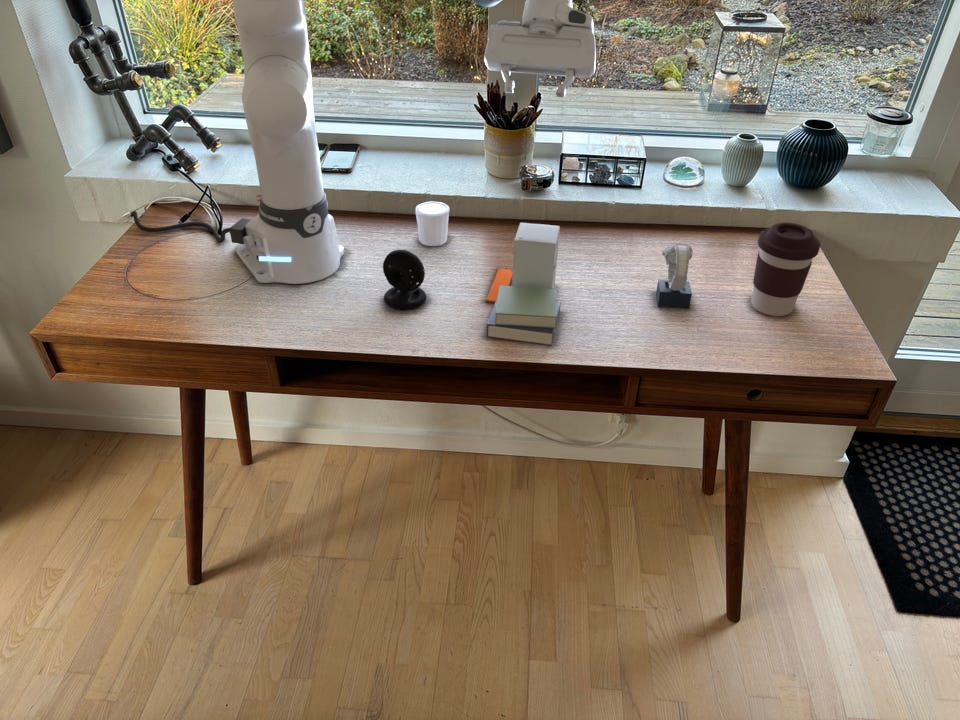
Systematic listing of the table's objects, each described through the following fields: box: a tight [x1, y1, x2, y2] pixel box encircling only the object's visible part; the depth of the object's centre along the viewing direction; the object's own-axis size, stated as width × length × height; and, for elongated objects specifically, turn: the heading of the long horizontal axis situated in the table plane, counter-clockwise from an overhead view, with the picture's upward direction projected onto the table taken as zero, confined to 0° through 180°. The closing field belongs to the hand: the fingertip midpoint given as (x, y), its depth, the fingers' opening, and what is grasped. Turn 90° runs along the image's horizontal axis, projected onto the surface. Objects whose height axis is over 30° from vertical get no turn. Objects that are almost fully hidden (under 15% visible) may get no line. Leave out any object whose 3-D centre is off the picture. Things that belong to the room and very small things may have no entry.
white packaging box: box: [511, 222, 561, 289], centre depth 139 cm, size 7×7×13 cm
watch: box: [655, 242, 694, 310], centre depth 138 cm, size 6×8×11 cm
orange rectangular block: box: [485, 268, 513, 304], centre depth 145 cm, size 12×3×1 cm, turn 168°
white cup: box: [415, 201, 450, 247], centre depth 158 cm, size 7×7×7 cm
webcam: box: [382, 249, 427, 312], centre depth 138 cm, size 8×8×10 cm
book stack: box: [486, 285, 561, 346], centre depth 133 cm, size 11×10×5 cm
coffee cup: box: [750, 221, 821, 317], centre depth 136 cm, size 10×10×15 cm
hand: (534, 93), depth 141 cm, fingers open, 8 cm apart
